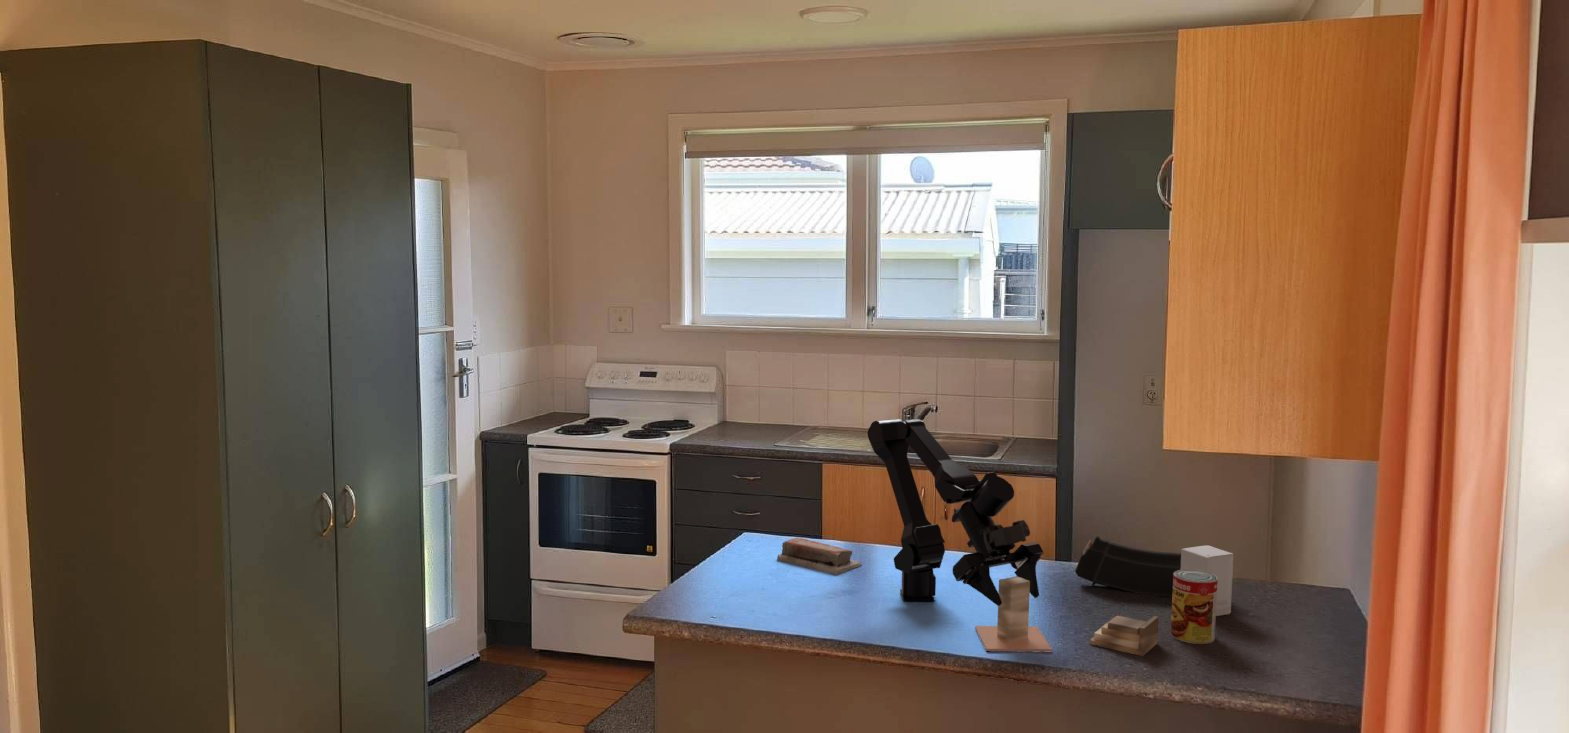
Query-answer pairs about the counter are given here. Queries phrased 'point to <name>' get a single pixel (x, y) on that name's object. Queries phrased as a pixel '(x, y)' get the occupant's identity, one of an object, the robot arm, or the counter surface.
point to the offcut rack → (1127, 635)
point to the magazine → (1128, 567)
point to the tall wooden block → (1013, 609)
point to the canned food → (1194, 606)
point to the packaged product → (817, 556)
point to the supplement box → (1212, 571)
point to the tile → (998, 644)
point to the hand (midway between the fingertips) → (1018, 600)
